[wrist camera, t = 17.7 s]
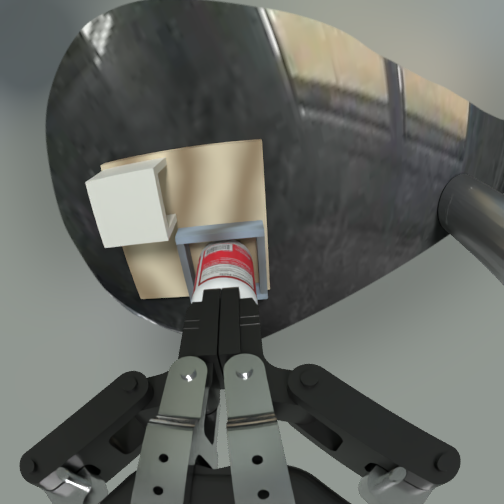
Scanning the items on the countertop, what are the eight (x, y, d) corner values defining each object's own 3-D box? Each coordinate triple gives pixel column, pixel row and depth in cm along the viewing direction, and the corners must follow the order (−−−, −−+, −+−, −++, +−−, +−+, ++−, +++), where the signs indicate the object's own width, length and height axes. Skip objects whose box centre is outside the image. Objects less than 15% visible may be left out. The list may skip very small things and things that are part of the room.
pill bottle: (230, 289, 34) (230, 362, 24) (189, 263, 32) (173, 335, 22) (263, 256, 32) (275, 327, 22) (221, 226, 29) (215, 292, 20)
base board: (260, 139, 26) (264, 144, 23) (268, 283, 35) (272, 302, 32) (105, 163, 26) (89, 172, 22) (143, 293, 35) (136, 311, 32)
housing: (165, 157, 25) (153, 168, 21) (177, 220, 29) (168, 240, 25) (104, 169, 25) (85, 182, 21) (119, 227, 28) (104, 248, 25)
